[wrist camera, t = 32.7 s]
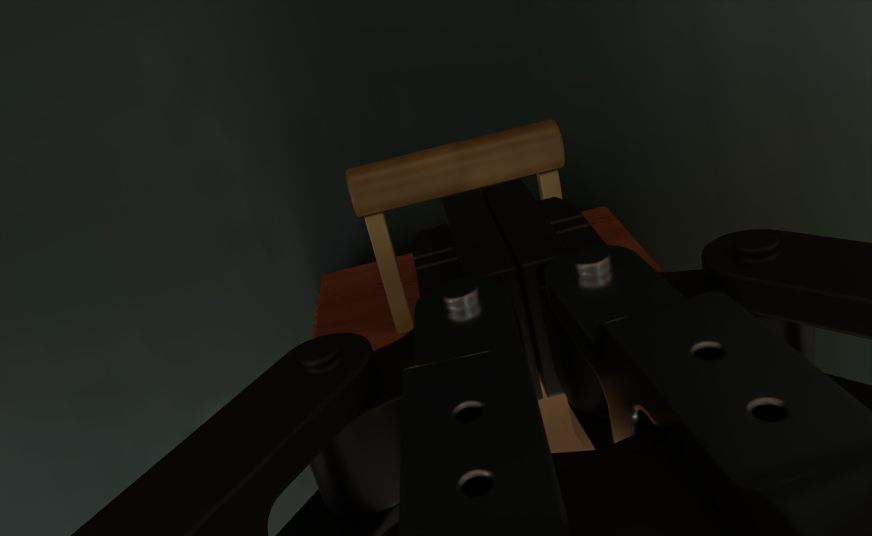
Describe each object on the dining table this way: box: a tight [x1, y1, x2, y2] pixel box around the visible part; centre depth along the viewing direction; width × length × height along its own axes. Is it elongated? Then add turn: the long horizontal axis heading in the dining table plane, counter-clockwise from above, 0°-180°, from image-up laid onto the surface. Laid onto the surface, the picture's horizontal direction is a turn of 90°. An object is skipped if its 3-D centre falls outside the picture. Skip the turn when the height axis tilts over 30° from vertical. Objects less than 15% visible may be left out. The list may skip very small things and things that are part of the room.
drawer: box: [315, 119, 663, 351], centre depth 29 cm, size 20×12×8 cm, turn 13°
